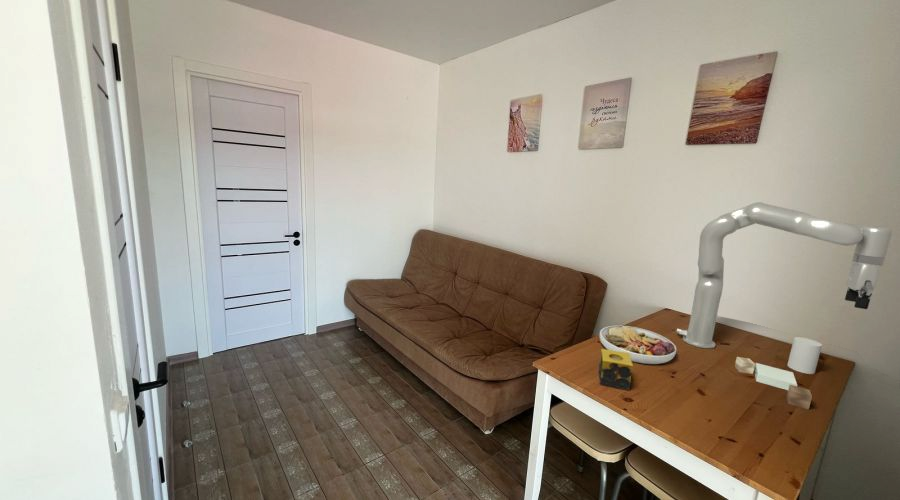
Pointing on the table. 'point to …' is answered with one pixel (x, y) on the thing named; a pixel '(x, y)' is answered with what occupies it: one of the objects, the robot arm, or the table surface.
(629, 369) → the yellow black cube
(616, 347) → the bowl
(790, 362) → the white cylinder
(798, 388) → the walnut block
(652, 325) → the table surface
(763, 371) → the plate
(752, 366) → the birch block
